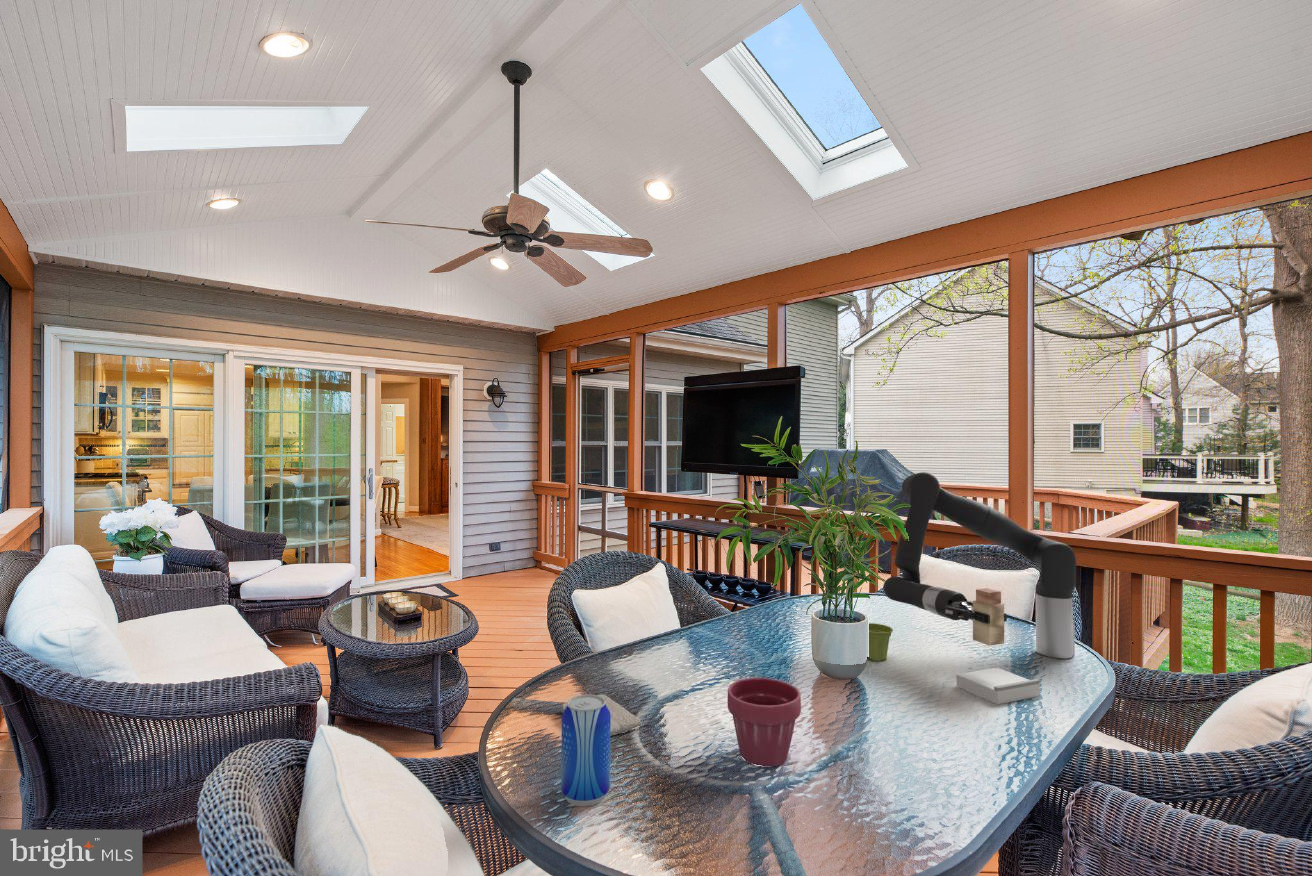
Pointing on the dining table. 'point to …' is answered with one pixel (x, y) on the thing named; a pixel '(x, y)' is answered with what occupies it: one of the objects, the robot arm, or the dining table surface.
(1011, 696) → the dock
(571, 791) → the beer can
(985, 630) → the beige tall block
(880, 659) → the plant pot
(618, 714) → the washcloth
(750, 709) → the plant pot
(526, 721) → the dining table surface
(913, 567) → the robot arm
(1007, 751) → the dining table surface
